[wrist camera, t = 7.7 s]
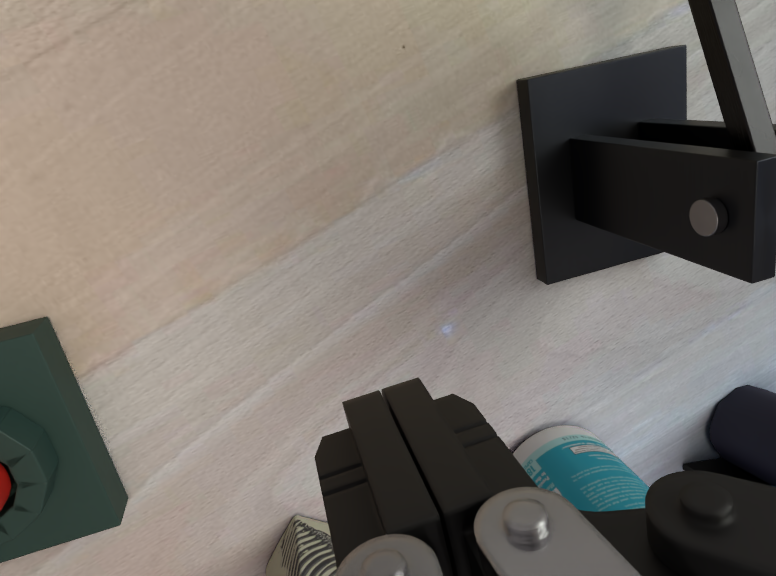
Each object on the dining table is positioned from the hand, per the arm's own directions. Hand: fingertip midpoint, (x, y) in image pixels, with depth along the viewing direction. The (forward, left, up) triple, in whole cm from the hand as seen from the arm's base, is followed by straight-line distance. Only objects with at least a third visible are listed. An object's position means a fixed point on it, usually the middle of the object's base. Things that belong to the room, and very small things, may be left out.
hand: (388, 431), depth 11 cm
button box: (+7, -17, -19) cm, 27 cm away
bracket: (+1, +17, -19) cm, 26 cm away
